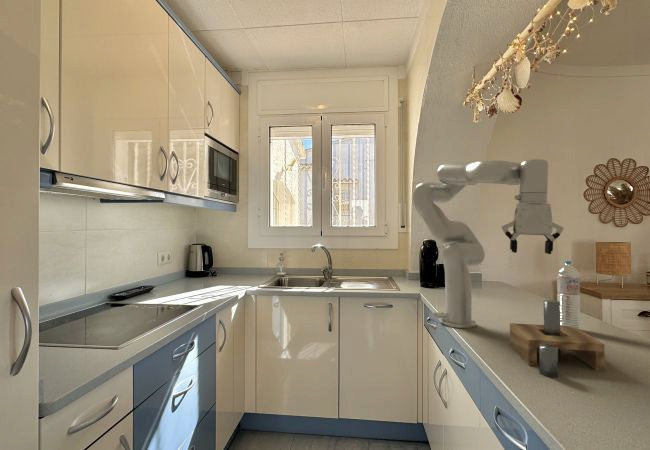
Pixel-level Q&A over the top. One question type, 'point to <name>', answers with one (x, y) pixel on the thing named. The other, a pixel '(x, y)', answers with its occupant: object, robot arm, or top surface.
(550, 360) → the short pin
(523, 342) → the bridge
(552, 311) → the long pin
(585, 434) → the top surface
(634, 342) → the top surface
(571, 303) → the water bottle
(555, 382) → the top surface
